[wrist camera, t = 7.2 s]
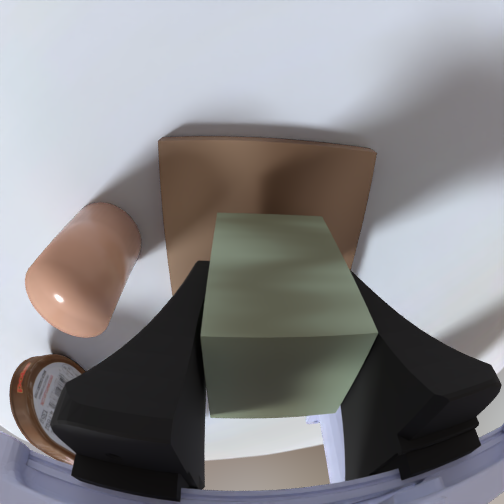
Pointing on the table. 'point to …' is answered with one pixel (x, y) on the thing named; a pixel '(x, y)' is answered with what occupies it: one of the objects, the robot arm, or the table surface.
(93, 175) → the table surface
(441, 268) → the table surface
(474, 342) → the table surface
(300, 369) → the green block
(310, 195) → the walnut board
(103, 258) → the peach rounded capsule
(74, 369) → the tin
